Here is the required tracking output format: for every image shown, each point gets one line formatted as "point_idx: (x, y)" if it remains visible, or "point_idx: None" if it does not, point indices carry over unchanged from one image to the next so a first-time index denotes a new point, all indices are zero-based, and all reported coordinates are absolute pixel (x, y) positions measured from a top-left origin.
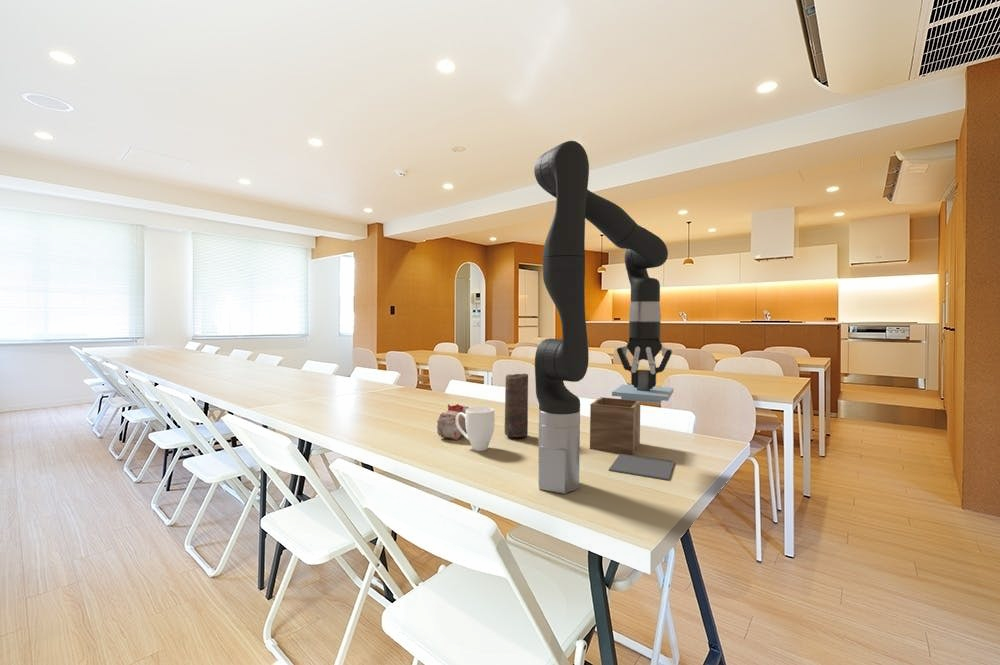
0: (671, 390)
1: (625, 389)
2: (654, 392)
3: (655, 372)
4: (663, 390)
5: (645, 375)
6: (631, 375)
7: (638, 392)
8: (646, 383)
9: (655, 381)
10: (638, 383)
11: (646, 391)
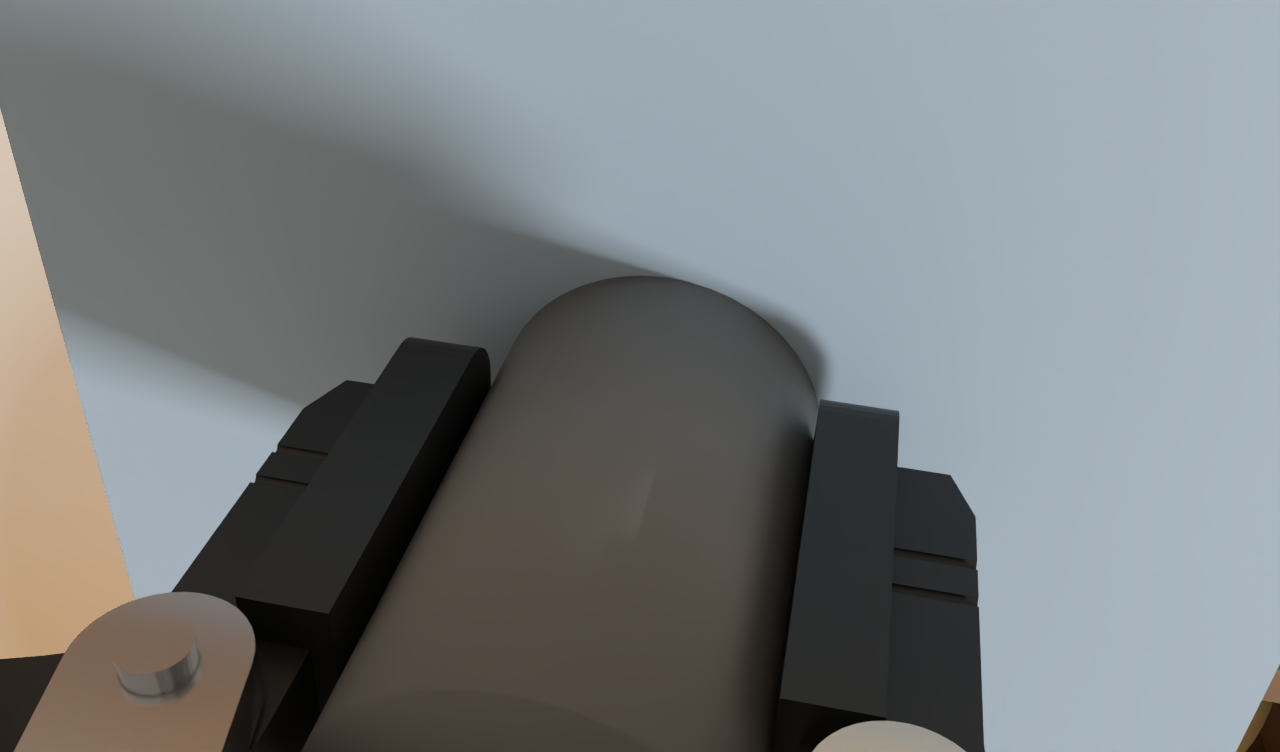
0: (116, 507)
1: (1134, 367)
2: (351, 156)
3: (94, 643)
4: (247, 472)
5: (466, 567)
6: (977, 702)
7: (752, 4)
8: (514, 405)
9: (265, 485)
10: (753, 443)
11: (561, 240)
